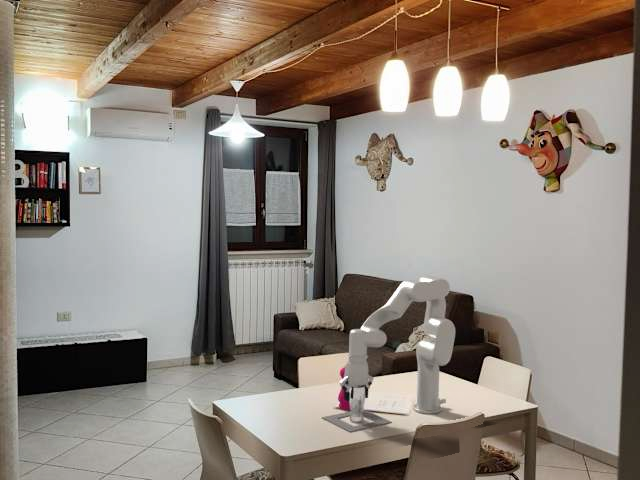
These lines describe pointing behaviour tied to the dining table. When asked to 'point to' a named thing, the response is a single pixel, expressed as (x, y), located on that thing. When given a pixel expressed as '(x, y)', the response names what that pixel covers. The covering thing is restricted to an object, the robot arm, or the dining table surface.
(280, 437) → the dining table surface
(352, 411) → the beer glass
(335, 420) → the letter o mat
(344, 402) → the pepper mill
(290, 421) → the dining table surface
